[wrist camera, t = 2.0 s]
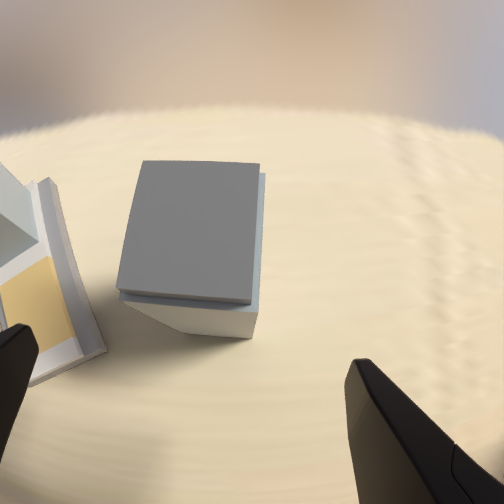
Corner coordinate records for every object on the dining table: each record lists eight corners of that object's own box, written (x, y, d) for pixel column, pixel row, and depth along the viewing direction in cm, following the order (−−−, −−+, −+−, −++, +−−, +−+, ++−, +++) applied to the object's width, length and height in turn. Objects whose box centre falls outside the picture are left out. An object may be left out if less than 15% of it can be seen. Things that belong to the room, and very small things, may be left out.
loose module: (251, 338, 18) (259, 307, 8) (183, 333, 18) (107, 294, 8) (256, 266, 20) (266, 158, 9) (191, 261, 20) (138, 155, 9)
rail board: (107, 350, 18) (93, 348, 16) (31, 387, 17) (14, 387, 15) (56, 185, 22) (44, 172, 20) (-6, 227, 20) (-19, 217, 18)
